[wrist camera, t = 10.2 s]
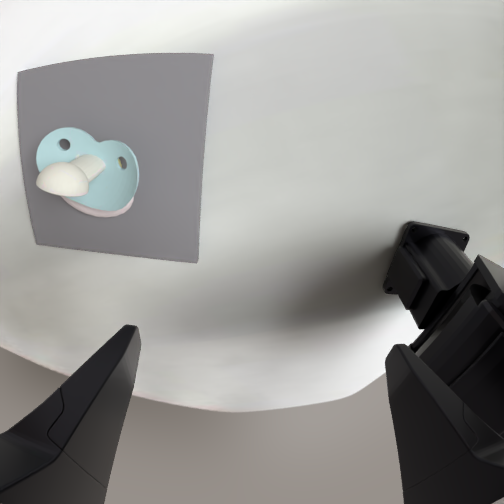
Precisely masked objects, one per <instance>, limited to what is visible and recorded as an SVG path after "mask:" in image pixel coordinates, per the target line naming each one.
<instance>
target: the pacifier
mask: <svg viewBox="0 0 504 504" xmlns="http://www.w3.org/2000/svg"><path fill="white" fill-rule="evenodd" d="M61 139H67V140H68V141H69V142H70V148H69V149H68V150H64V149H62V148H61V147H60V144H59V142H60V140H61ZM120 156H122V157H124V158H125V160H126V162H127V168H126V169H123V168H122V164H121V161H120V159H119V157H120ZM36 161H37V166H38V170H39V172H40V174H39V175H38V177H37V181H36V185H37V186H38V187H39V188H40V189H42V190H43V191H45V192H48V193H51V194H55V195H59V196H61V197H62V198H63V199H64V200H65V201H66V202H67V203H68V204H70V205H71V206H72V207H74V208H75V209H77V210H79V211H81V212H83V213H85V214H89V215H92V216H96V217H114V216H118V215H120V214H123V213H125V212H126V211H127V210H128V209H129V208H130V207H131V205H132V203H133V201H134V195H135V192H136V190H137V187H138V182H139V167H138V162H137V159H136V157H135V155H134V153H133V151H132V150H131V149H130V148H129V147H128V146H127V145H126V144H124V143H122V142H120V141H116V140H108V141H103V142H97V141H96V140H95V139H94V138H93V137H92V136H91V135H90V134H88V133H87V132H85V131H83V130H81V129H78V128H73V127H66V128H60V129H57V130H55V131H53V132H51V133H49V134H48V135H47V136H45V138H44V139H43V140H42V141H41V143H40V145H39V146H38V150H37V156H36Z"/></svg>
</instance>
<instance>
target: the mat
mask: <svg viewBox="0 0 504 504" xmlns="http://www.w3.org/2000/svg"><path fill="white" fill-rule="evenodd" d="M213 56H214V55H213V54H200V53H149V54H130V55H117V56H106V57H97V58H89V59H82V60H75V61H69V62H63V63H57V64H52V65H47V66H42V67H38V68H33V69H29V70H25V71H21V72H18V81H17V105H18V129H19V142H20V153H21V162H22V170H23V177H24V184H25V190H26V196H27V202H28V207H29V212H30V217H31V222H32V227H33V231H34V235H35V239H36V243H37V244H38V245H45V246H53V247H61V248H69V249H77V250H85V251H93V252H101V253H110V254H118V255H127V256H135V257H144V258H153V259H161V260H170V261H180V262H189V263H197V262H198V255H199V229H200V208H201V190H202V175H203V160H204V147H205V135H206V123H207V112H208V102H209V92H210V82H211V73H212V65H213ZM66 127H73V128H78V129H81V130H83V131H85V132H87V133H88V134H90V135H91V136H92V137H93V138H94V139H95V140H96V141H97V142H103V141H108V140H116V141H120V142H122V143H124V144H126V145H127V146H128V147H129V148H130V149H131V150H132V151H133V153H134V155H135V157H136V159H137V162H138V167H139V182H138V187H137V190H136V192H135V195H134V201H133V203H132V205H131V207H130V208H129V209H128V210H127V211H126V212H125V213H123V214H120V215H118V216H114V217H96V216H92V215H89V214H85V213H83V212H81V211H79V210H77V209H75V208H74V207H72V206H71V205H70V204H68V203H67V202H66V201H65V200H64V199H63V198H62V197H61V196H59V195H55V194H51V193H48V192H45V191H43V190H42V189H40V188H39V187H38V186H37V185H36V181H37V177H38V175H39V174H40V172H39V170H38V166H37V161H36V156H37V150H38V146H39V145H40V143H41V141H42V140H43V139H44V138H45V136H47V135H48V134H49V133H51V132H53V131H55V130H57V129H60V128H66ZM59 144H60V147H61V148H62V149H64V150H68V149H69V148H70V142H69V141H68V140H67V139H61V140H60V142H59ZM119 159H120V161H121V164H122V168H123V169H126V168H127V162H126V160H125V158H124V157H122V156H120V157H119Z"/></svg>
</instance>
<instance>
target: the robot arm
mask: <svg viewBox="0 0 504 504" xmlns="http://www.w3.org/2000/svg"><path fill="white" fill-rule="evenodd" d="M414 227H415V229H414V230H412V228H414ZM464 237H465V238H464ZM463 238H464V239H463ZM468 241H469V235H468V234H467V233H466V232H464V231H460V230H455V229H450V228H445V227H440V226H435V225H430V224H425V223H419V222H410V223H409V224H408V226H407V228H406V231H405V233H404V236H403V239H402V241H401V244H400V246H399V248H398V249H397V252H396V255H395V257H394V260H393V262H392V264H391V267H390V269H389V272H388V276H387V278H386V280H385V283H384V285H383V290H384V292H385V293H386V294H398V295H399V297H400V299H401V301H402V303H403V305H404V307H405V309H406V310H410V312H411V314H412V316H413V318H414V320H415V322H416V324H417V326H418V328H419V329H424V331H423V332H422V333H421V334H420V335H419V336H418V338H417V339H416V340H415V341H414V342H413V343H411V344H410V345H409V346H407V345H405V344H395V345H394V346H393V348H392V349H391V351H390V352H389V354H388V356H387V357H386V360H385V368H386V377H387V387H388V397H389V403H390V408H391V414H392V419H393V425H394V430H395V437H396V443H397V449H398V456H399V463H400V471H401V479H402V487H403V498H404V504H504V268H502V267H501V266H499V265H497V264H495V263H494V262H492V261H490V260H488V259H486V258H485V257H483V256H481V255H479V254H478V256H477V257H476V259H475V260H474V262H475V263H474V264H473V262H472V261H471V260H470V259H469V258H468V257H467V255H466V254H465V253H464V250H465V248H466V246H467V243H468ZM388 287H390V288H388ZM140 350H141V340H140V334H139V329H138V327H137V326H134V325H125V326H123V327H122V328H121V329H120V330H119V331H118V332H117V333H116V334H115V335H114V336H113V337H112V338H111V339H109V340H108V341H107V342H106V343H105V344H104V345H103V346H102V347H101V348H100V349H99V350H98V351H97V352H96V353H94V354H93V355H92V356H91V357H90V358H89V359H88V360H87V361H86V362H85V363H84V364H83V365H82V366H81V367H80V368H79V369H78V370H77V371H76V372H74V373H73V374H72V375H71V376H70V377H69V378H68V379H67V380H66V381H65V382H64V383H63V384H62V385H61V386H60V388H58V389H57V390H56V391H55V392H54V393H53V394H52V395H50V396H49V397H48V398H47V399H46V400H45V401H44V402H43V403H42V404H40V405H39V406H38V407H37V408H36V409H34V410H33V411H32V412H31V413H29V414H28V415H27V416H25V417H24V418H23V419H22V420H20V421H19V422H18V423H16V424H15V425H14V426H13V427H11V428H10V429H9V430H7V431H5V432H4V433H1V434H0V504H104V501H105V496H106V492H107V487H108V483H109V478H110V474H111V470H112V465H113V461H114V457H115V453H116V449H117V445H118V442H119V438H120V434H121V430H122V427H123V422H124V419H125V416H126V412H127V408H128V405H129V402H130V398H131V395H132V391H133V388H134V383H135V377H136V371H137V366H138V360H139V355H140Z"/></svg>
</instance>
